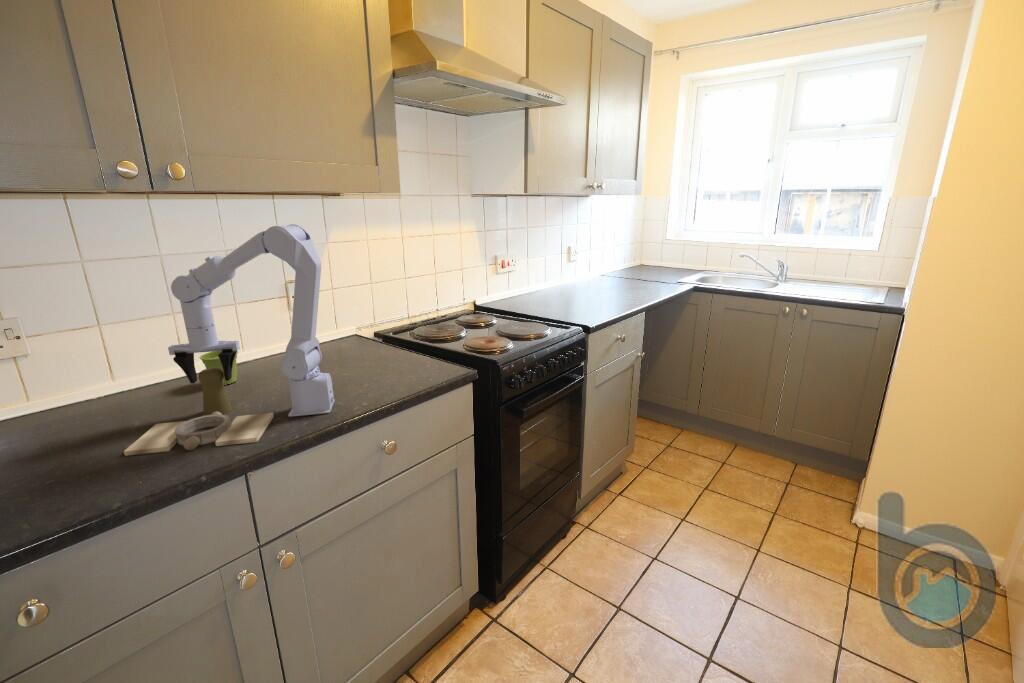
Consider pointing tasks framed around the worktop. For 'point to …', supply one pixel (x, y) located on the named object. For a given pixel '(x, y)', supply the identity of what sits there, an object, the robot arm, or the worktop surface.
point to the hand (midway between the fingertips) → (211, 380)
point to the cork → (214, 392)
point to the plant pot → (219, 364)
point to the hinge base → (201, 433)
